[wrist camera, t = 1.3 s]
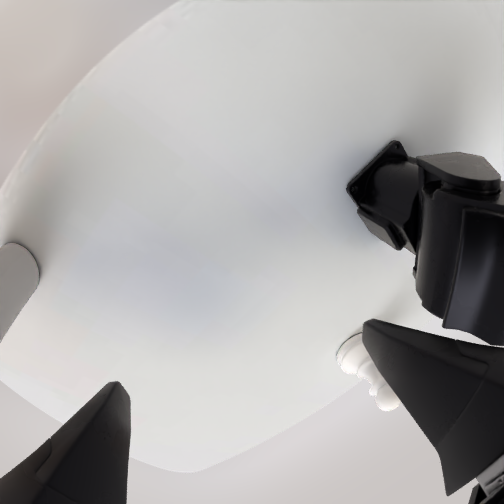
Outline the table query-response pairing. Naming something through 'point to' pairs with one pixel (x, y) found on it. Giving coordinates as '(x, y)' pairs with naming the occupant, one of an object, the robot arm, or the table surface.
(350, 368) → the chess pawn
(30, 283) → the beverage can
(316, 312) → the table surface
